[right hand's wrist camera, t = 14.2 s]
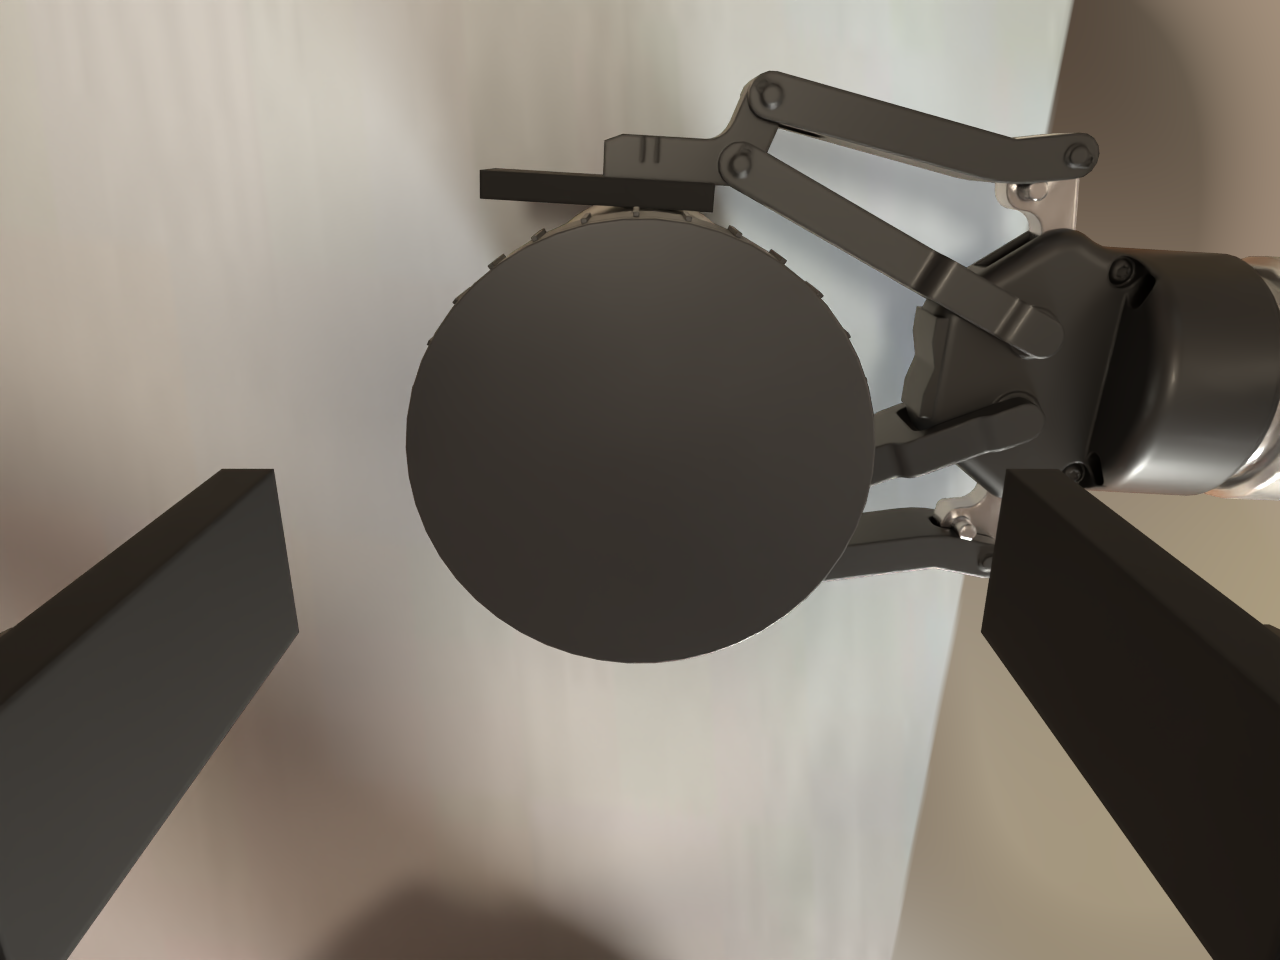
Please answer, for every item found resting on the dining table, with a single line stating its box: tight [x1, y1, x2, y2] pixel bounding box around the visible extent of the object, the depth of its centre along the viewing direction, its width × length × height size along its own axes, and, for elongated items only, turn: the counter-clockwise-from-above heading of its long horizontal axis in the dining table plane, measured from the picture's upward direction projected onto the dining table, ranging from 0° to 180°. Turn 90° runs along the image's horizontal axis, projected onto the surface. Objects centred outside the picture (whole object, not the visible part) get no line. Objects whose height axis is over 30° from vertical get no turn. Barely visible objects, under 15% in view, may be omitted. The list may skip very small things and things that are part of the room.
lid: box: [406, 207, 875, 663], centre depth 18 cm, size 9×9×2 cm
